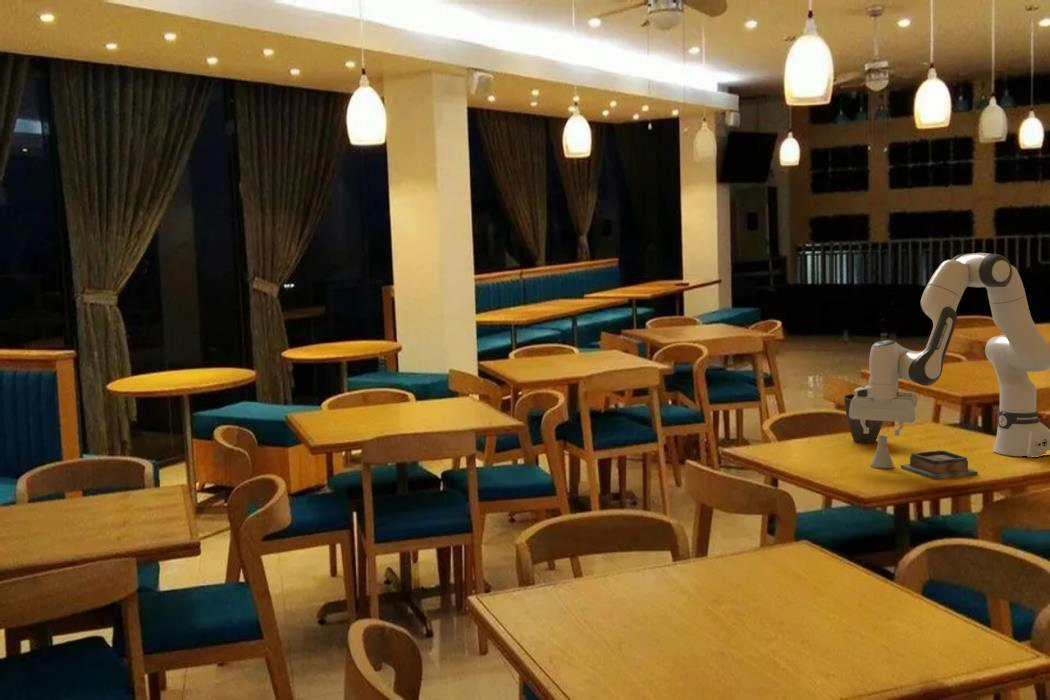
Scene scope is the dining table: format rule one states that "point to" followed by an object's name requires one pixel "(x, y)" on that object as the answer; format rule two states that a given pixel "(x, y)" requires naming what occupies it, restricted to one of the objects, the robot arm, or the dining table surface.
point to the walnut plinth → (939, 465)
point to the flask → (882, 454)
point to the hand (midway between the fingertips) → (881, 434)
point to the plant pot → (857, 428)
